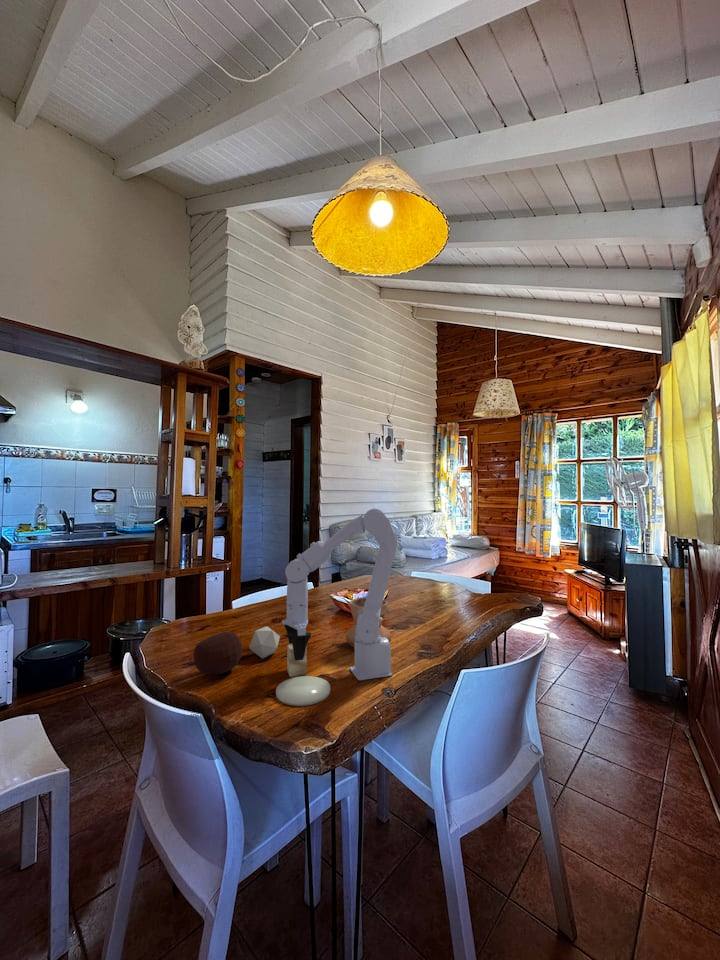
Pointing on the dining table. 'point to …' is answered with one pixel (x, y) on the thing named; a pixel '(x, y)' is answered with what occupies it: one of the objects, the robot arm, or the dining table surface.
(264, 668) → the dining table surface
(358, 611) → the ceramic jug
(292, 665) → the block
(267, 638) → the die
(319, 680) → the plate
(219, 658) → the potato
